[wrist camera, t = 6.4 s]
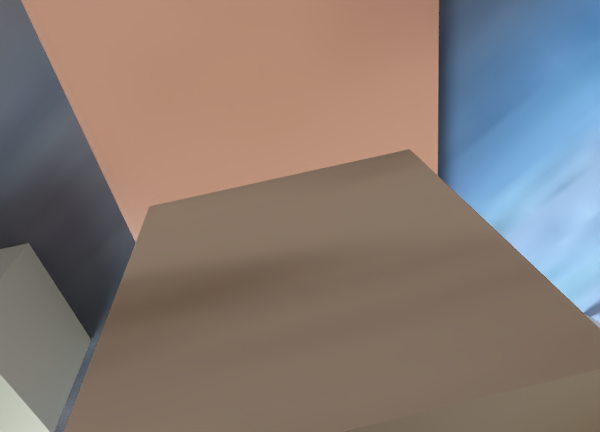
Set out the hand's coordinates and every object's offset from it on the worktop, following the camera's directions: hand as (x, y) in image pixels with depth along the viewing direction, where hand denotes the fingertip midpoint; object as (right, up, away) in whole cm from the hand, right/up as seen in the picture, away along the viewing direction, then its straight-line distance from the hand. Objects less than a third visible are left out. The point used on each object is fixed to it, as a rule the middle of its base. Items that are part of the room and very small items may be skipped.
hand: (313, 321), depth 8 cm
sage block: (-13, -2, +11) cm, 17 cm away
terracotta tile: (-1, +5, +8) cm, 10 cm away
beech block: (0, +1, +1) cm, 1 cm away
